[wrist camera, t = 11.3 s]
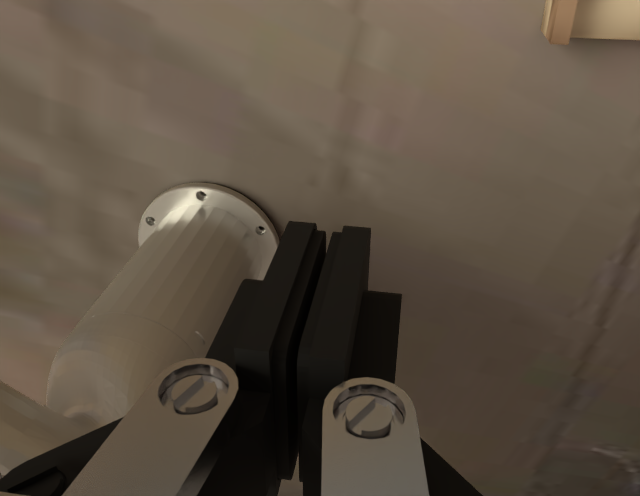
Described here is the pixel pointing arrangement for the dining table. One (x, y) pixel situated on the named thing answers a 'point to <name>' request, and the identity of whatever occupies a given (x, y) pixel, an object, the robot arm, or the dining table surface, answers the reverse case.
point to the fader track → (591, 20)
